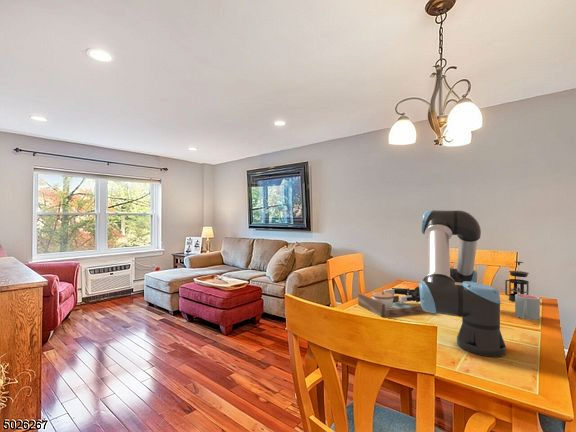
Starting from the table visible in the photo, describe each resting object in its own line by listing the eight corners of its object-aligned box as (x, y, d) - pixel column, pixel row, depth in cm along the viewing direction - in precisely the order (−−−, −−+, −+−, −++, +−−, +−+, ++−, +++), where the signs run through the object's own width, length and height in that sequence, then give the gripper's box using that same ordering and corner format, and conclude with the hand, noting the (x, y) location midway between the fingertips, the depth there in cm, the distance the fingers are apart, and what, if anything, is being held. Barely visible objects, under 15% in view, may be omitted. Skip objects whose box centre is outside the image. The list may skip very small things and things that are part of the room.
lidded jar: (394, 313, 146) (395, 294, 146) (372, 311, 148) (372, 293, 148) (391, 306, 156) (391, 289, 157) (371, 305, 159) (371, 288, 159)
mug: (516, 312, 148) (516, 293, 149) (540, 317, 142) (540, 296, 142) (512, 319, 139) (512, 298, 139) (537, 324, 132) (537, 302, 132)
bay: (397, 300, 168) (397, 290, 168) (425, 312, 148) (425, 300, 148) (358, 304, 160) (358, 293, 160) (381, 317, 140) (382, 304, 140)
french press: (526, 299, 173) (526, 261, 173) (533, 304, 164) (533, 263, 164) (502, 297, 176) (502, 259, 176) (508, 302, 167) (509, 262, 167)
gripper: (442, 306, 149) (408, 309, 143) (408, 294, 173) (377, 296, 167) (442, 291, 149) (408, 294, 143) (408, 281, 173) (378, 283, 167)
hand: (392, 295), depth 155 cm, fingers open, 13 cm apart
